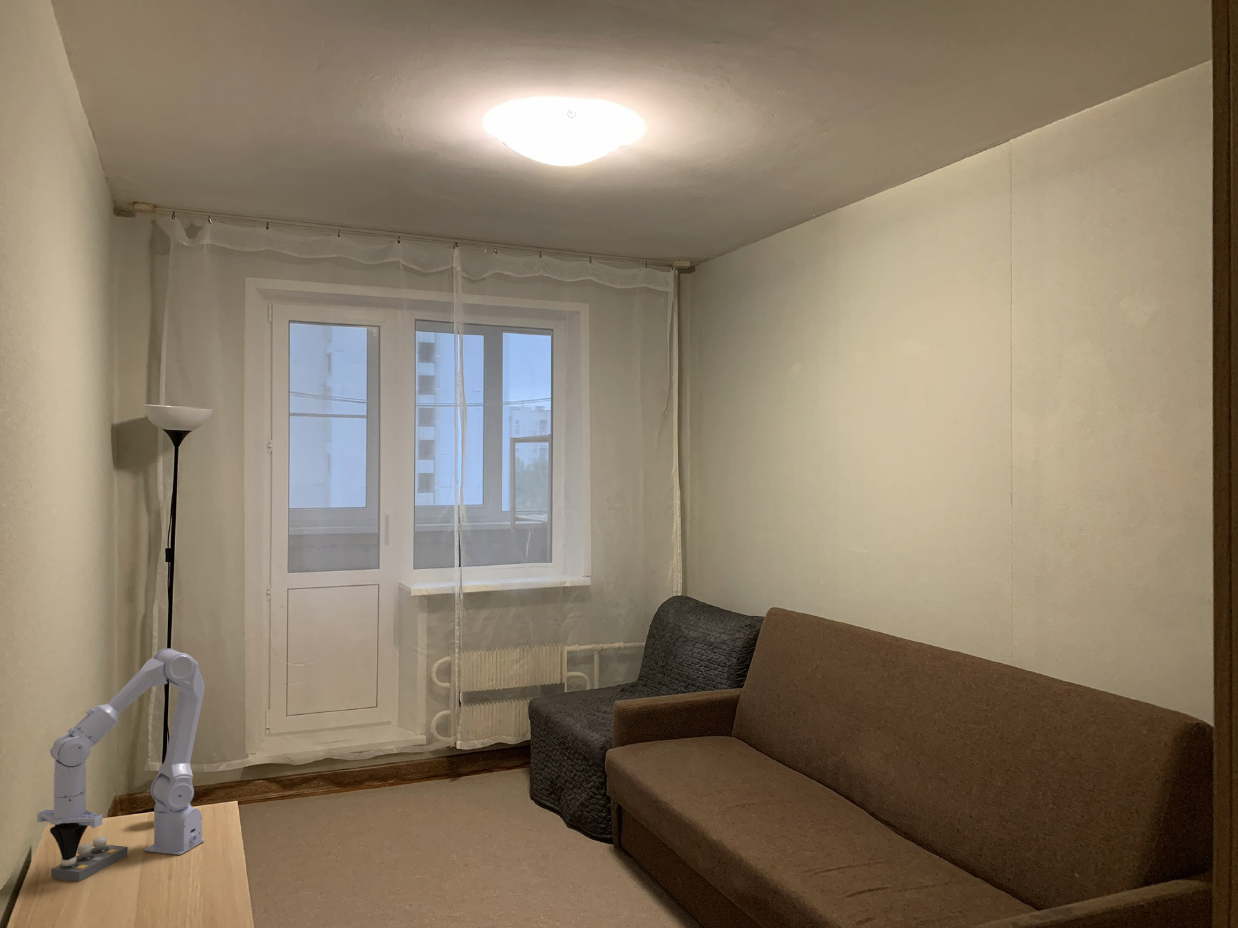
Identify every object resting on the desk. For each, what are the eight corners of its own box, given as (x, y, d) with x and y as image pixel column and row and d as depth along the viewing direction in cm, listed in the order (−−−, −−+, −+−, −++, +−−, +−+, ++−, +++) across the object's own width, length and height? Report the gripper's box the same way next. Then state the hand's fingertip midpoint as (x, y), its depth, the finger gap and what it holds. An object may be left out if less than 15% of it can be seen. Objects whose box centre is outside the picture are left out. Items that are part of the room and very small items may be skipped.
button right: (109, 842, 194) (109, 837, 194) (99, 847, 191) (99, 841, 191) (99, 841, 194) (99, 836, 194) (89, 846, 192) (89, 840, 192)
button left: (79, 861, 186) (79, 855, 186) (69, 866, 183) (69, 861, 184) (69, 860, 187) (69, 854, 187) (58, 865, 184) (58, 860, 184)
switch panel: (127, 855, 195) (127, 845, 195) (79, 881, 182) (79, 871, 182) (100, 853, 196) (100, 843, 196) (51, 878, 184) (51, 867, 184)
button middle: (94, 849, 190) (94, 844, 190) (84, 854, 187) (84, 849, 187) (84, 848, 190) (84, 843, 191) (74, 853, 188) (74, 848, 188)
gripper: (24, 797, 183) (24, 862, 183) (83, 802, 180) (82, 869, 180) (53, 785, 190) (52, 849, 190) (110, 790, 187) (109, 855, 186)
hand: (69, 858), depth 185 cm, fingers closed, pressing on button left
